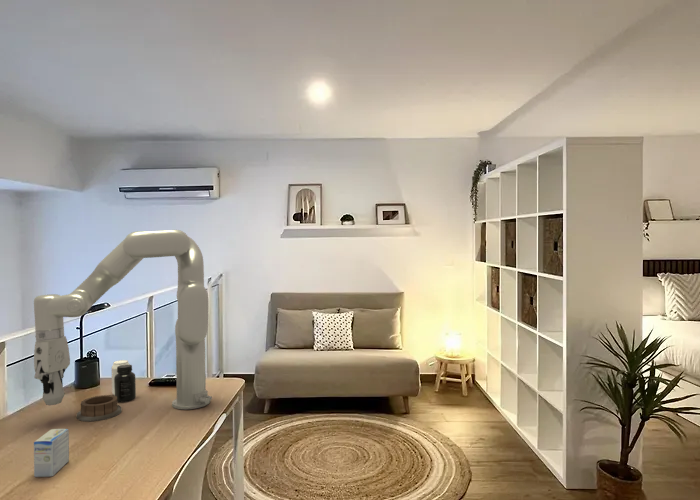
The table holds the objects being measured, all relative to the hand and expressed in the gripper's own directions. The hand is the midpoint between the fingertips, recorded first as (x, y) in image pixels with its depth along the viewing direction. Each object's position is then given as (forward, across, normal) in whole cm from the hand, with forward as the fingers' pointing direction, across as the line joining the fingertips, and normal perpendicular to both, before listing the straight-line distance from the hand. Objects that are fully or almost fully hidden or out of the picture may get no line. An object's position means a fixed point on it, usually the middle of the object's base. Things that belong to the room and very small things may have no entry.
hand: (53, 392), depth 150 cm
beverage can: (+10, +28, -4) cm, 30 cm away
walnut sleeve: (+10, +8, -10) cm, 16 cm away
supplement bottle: (+10, +22, -10) cm, 26 cm away
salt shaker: (+3, 0, 0) cm, 3 cm away
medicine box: (+10, -29, -22) cm, 38 cm away
